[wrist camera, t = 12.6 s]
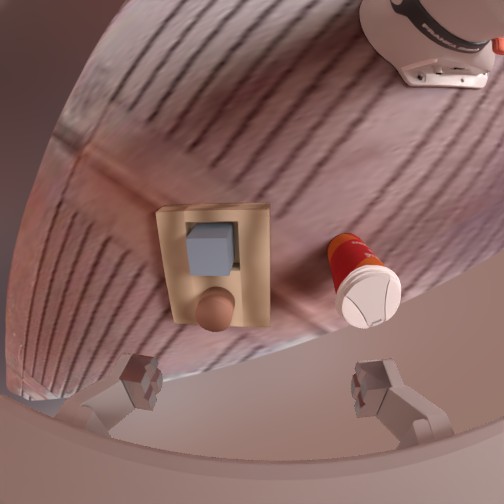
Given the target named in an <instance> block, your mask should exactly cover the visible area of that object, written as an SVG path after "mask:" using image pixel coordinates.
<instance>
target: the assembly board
mask: <svg viewBox="0 0 504 504" xmlns="http://www.w3.org/2000/svg"><path fill="white" fill-rule="evenodd" d="M156 220H157V227H158V234H159V241H160V248H161V254H162V260H163V267H164V272H165V278H166V284H167V289H168V294H169V300H170V305H171V310H172V315H173V319H174V323H177V324H193V325H200V326H201V327H202V328H204V329H206V330H208V331H212V332H219V331H223V330H225V329H227V328H228V327H229V326H242V327H270V203H219V204H188V205H164V206H163V207H162V208H160V209H159V210H158V211H157V212H156ZM197 223H233V226H234V244H235V258H234V262H233V265H232V269H231V272H230V275H229V276H192V275H190V268H189V261H188V253H187V244H186V238H187V236H188V235H189V234H190V232H191V231H192V230H193V228H194V227H195V226H196V225H197Z"/></svg>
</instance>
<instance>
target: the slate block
mask: <svg viewBox="0 0 504 504" xmlns="http://www.w3.org/2000/svg"><path fill="white" fill-rule="evenodd" d="M186 244H187V253H188V261H189V268H190V275H192V276H229V275H230V272H231V269H232V265H233V262H234V258H235V244H234V226H233V223H197V225H196V226H195V227H194V228H193V230H192V231H191V232H190V234H189V235H188V236H187V238H186Z"/></svg>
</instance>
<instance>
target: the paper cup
mask: <svg viewBox="0 0 504 504" xmlns="http://www.w3.org/2000/svg"><path fill="white" fill-rule="evenodd" d="M328 260H329V265H330V269H331V274H332V278H333V283H334V287H335V292H336V299H335V304H336V309H337V311H338V313H339V315H340V316H341V317H342V318H343V319H344V320H345V321H347V322H348V323H349V324H351V325H353V326H355V327H358V328H368V326H369V327H370V326H376V325H378V324H381V323H382V322H383V321H385V320H386V321H387V320H388V319H390V318H391V317H392V316H393V315H394V313H395V312H396V310H397V309H398V306H399V304H400V300H401V284H400V281H399V279H398V277H397V275H396V274H395V273H394V272H393V271H392V270H390V269H388V268H387V267H385V266H384V264H383V263H382V262H381V261H380V260H379V259H378V258H377V256H376V255H375V254H374V253H373V252H372V251H371V250H370V249H369V248H368V246H367V245H366V244H365V243H364V242H363V241H362V240H361V239H360V238H359V237H357V236H356V235H354V234H350V233H344V234H340V235H338V236H336V237H335V238H334V239H333V240H332V241H331V242H330V244H329V247H328Z"/></svg>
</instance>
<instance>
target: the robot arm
mask: <svg viewBox="0 0 504 504" xmlns="http://www.w3.org/2000/svg"><path fill="white" fill-rule="evenodd" d="M359 16H360V22H361V26H362V29H363V31H364V34H365V35H366V37H367V39H368V41H369V42H370V44H371V45H372V46H373V47H374V49H375V50H376V51H377V52H378V53H379V54H380V55H381V56H382V57H384V58H385V59H386V60H387V61H389V62H390V63H391V64H392V65H393V66H394V67H395V68H396V69H397V70H398V72H399V74H400V75H401V77H402V78H403V80H404V81H405V82H406V83H407V84H408V85H409V86H414V87H415V86H429V87H459V88H474V89H481V88H484V86H485V84H486V82H487V79H488V74H489V72H490V71H491V70H492V69H493V66H494V63H495V53H496V54H499V55H504V39H503V38H501V37H503V36H504V0H363V1H362V3H361V6H360V12H359ZM418 76H420V80H419V79H418ZM157 366H158V361H157V358H155V357H150V356H143V355H137V354H130V353H123V354H121V356H120V357H119V359H118V361H117V362H116V364H115V366H114V367H113V369H112V371H111V373H110V374H109V376H108V377H104V378H102V379H100V380H99V381H97V382H95V383H94V384H92V385H90V386H88V387H87V388H85V389H83V390H81V391H79V392H78V393H76V394H74V395H72V396H71V397H69V398H67V399H66V400H65V401H64V403H63V405H62V406H61V408H60V409H59V411H58V413H57V414H56V416H55V418H52V417H50V416H48V415H45V414H43V413H41V412H38V411H36V410H34V409H32V408H29V407H27V406H25V405H23V404H21V403H19V402H17V401H15V400H13V399H11V398H9V397H7V396H5V395H3V394H0V504H504V416H503V417H501V418H498V419H496V420H493V421H491V422H488V423H486V424H483V425H480V426H478V427H475V428H472V429H469V430H467V431H464V432H461V433H458V434H454V432H453V429H452V427H451V424H450V422H449V419H448V417H447V414H446V413H445V412H444V411H443V410H441V409H440V408H438V407H437V406H436V405H434V404H433V403H431V402H430V401H428V400H427V399H426V398H424V397H423V396H421V395H420V394H419V393H417V392H416V391H414V390H413V389H412V388H410V387H409V386H404V384H403V382H402V380H401V377H400V374H399V372H398V369H397V367H396V365H395V362H394V360H393V359H392V358H389V359H381V360H370V361H359V362H357V363H356V366H355V371H356V373H355V374H354V375H353V377H352V381H351V393H352V397H353V398H354V399H355V400H356V402H355V405H354V407H355V411H356V416H357V418H360V417H370V416H376V417H377V418H378V419H379V420H380V421H381V422H382V423H383V424H384V425H385V426H386V427H387V429H388V430H390V431H391V433H393V435H394V436H395V437H396V438H397V439H398V440H399V441H400V444H399V445H398V447H397V448H396V449H395V450H390V451H385V452H379V453H373V454H366V455H359V456H351V457H341V458H331V459H319V460H318V459H317V460H296V461H295V460H294V461H264V460H240V459H227V458H216V457H207V456H198V455H191V454H185V453H178V452H172V451H167V450H161V449H156V448H151V447H147V446H142V445H138V444H134V443H130V442H126V441H122V440H118V439H114V438H111V436H110V435H109V433H108V431H109V430H110V429H111V428H112V427H114V426H115V425H116V424H117V423H119V422H120V421H121V420H122V419H123V418H125V417H126V416H127V415H128V414H129V413H131V412H132V411H133V410H134V409H135V408H138V409H144V410H151V411H153V408H154V406H155V403H156V401H157V398H156V394H157V393H159V392H160V390H161V387H162V382H163V378H162V373H161V371H160V370H159V369H158V368H157Z"/></svg>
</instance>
